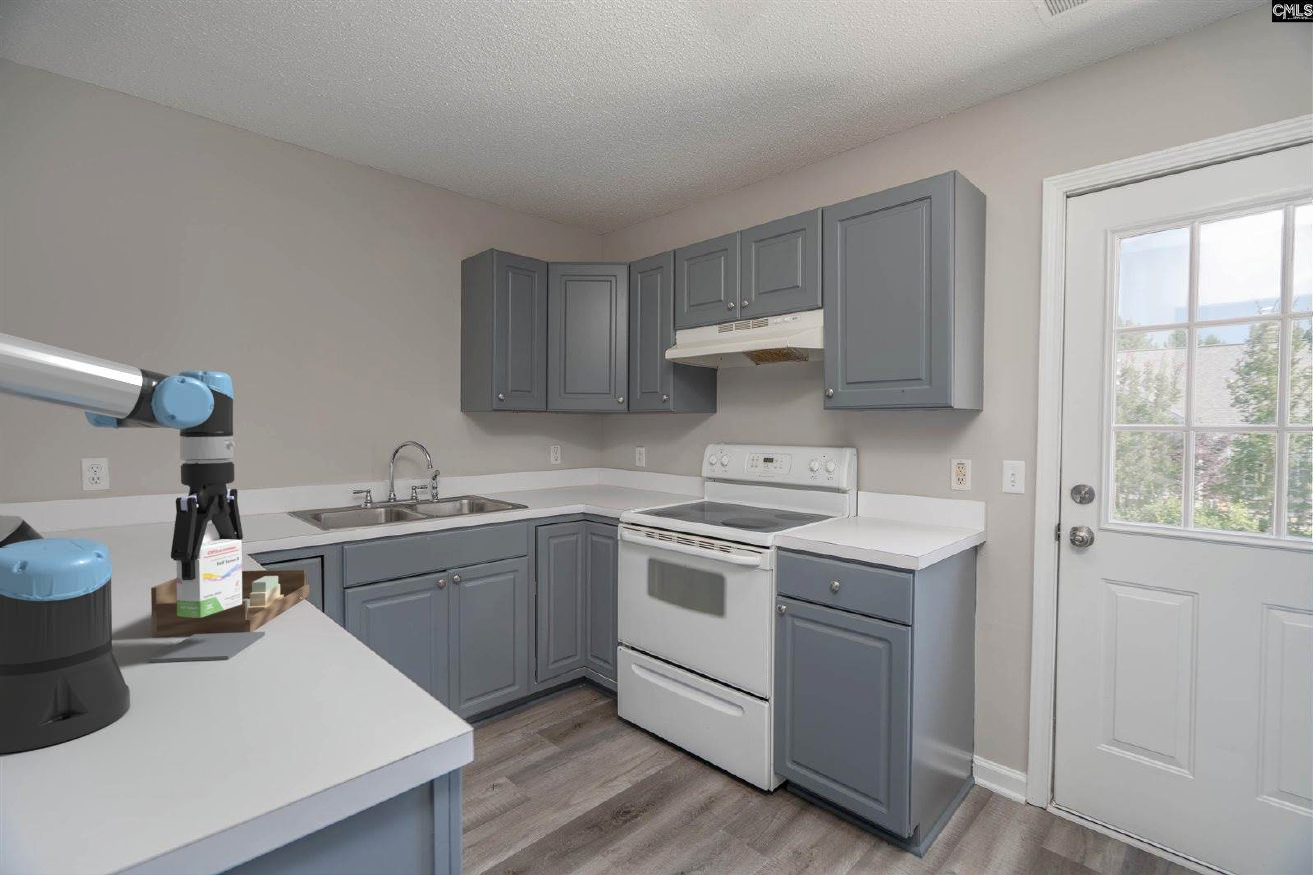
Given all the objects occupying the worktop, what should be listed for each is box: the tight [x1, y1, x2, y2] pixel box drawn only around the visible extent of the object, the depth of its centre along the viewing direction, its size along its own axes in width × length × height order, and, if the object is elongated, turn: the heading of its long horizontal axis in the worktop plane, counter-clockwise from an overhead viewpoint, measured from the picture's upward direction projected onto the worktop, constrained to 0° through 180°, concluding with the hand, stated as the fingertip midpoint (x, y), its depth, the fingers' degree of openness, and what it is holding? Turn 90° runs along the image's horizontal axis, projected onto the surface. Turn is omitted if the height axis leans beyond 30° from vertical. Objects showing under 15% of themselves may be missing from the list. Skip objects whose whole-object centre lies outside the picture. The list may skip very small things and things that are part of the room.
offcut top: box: [252, 576, 278, 592], centre depth 127 cm, size 5×3×2 cm, turn 6°
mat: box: [148, 631, 266, 664], centre depth 108 cm, size 12×12×1 cm
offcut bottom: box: [247, 595, 284, 619], centre depth 127 cm, size 9×3×3 cm, turn 10°
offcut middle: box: [249, 584, 280, 607], centre depth 127 cm, size 7×3×2 cm, turn 10°
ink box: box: [176, 523, 243, 618], centre depth 108 cm, size 9×5×15 cm, turn 168°
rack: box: [150, 568, 311, 637], centre depth 127 cm, size 25×17×9 cm, turn 7°
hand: (210, 590), depth 108 cm, fingers closed on ink box, 9 cm apart
